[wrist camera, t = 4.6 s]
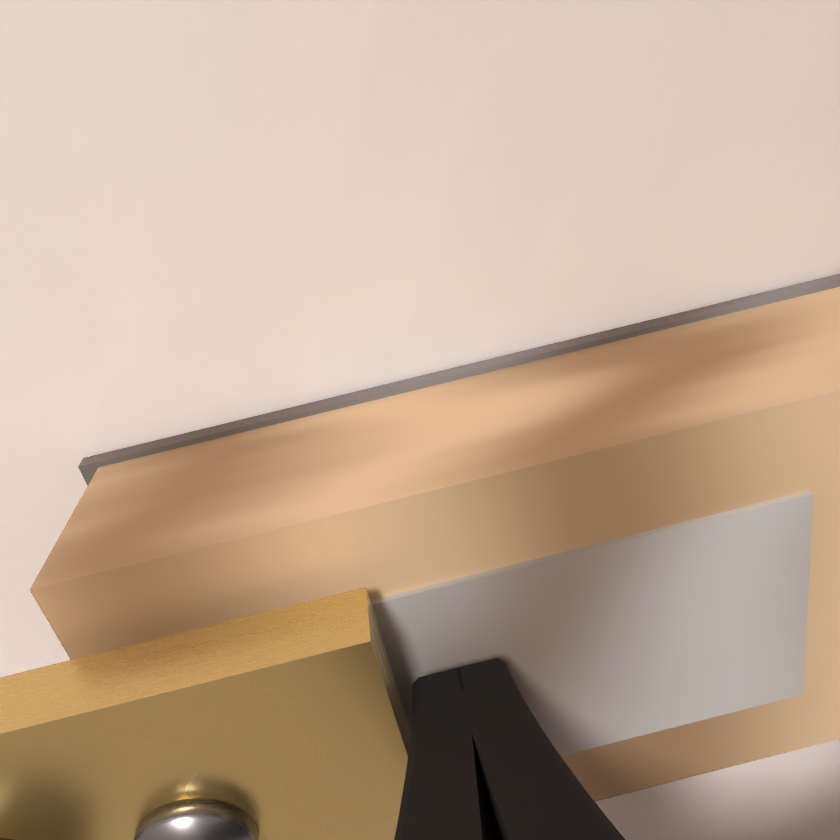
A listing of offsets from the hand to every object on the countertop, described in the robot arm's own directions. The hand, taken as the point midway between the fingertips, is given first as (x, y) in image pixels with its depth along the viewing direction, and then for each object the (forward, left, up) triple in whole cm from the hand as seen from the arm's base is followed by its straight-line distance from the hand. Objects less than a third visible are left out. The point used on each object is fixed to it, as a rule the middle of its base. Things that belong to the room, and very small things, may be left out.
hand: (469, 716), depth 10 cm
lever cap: (-3, +3, 0) cm, 4 cm away
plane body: (+2, -2, -4) cm, 5 cm away
